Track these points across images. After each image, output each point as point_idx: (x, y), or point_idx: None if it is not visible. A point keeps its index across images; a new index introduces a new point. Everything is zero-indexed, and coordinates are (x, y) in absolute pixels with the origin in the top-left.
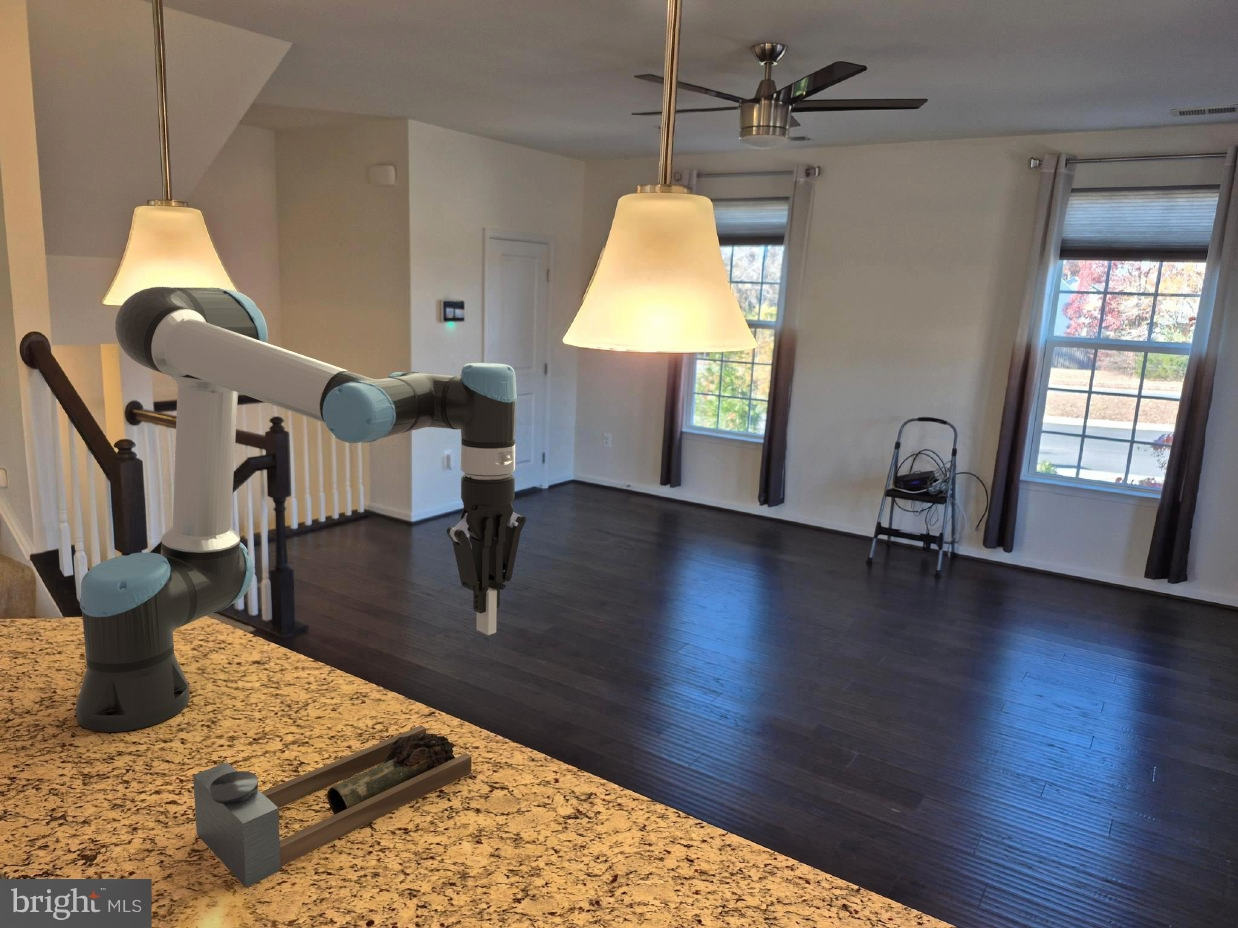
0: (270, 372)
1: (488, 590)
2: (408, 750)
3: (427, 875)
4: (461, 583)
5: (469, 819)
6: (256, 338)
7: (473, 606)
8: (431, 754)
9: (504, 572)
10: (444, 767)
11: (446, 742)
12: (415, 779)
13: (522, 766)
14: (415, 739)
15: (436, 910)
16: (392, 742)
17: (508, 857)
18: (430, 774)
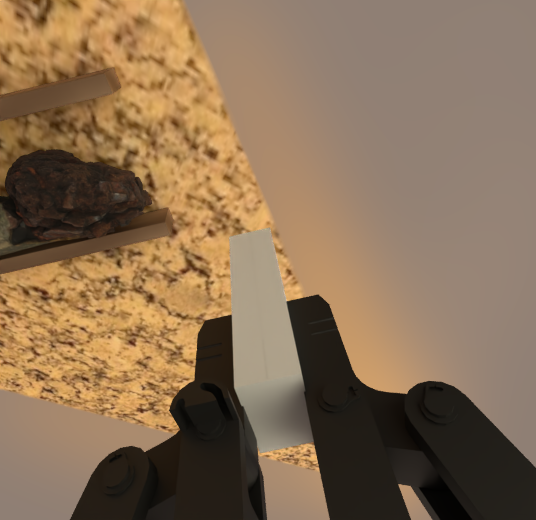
0: None
1: (275, 432)
2: (41, 220)
3: (60, 362)
4: (86, 491)
5: (133, 308)
6: None
7: (197, 342)
8: (88, 237)
9: (429, 506)
10: (114, 243)
11: (128, 207)
12: (58, 253)
13: None
14: (56, 205)
15: (61, 398)
16: (25, 114)
17: (154, 370)
18: (86, 251)
